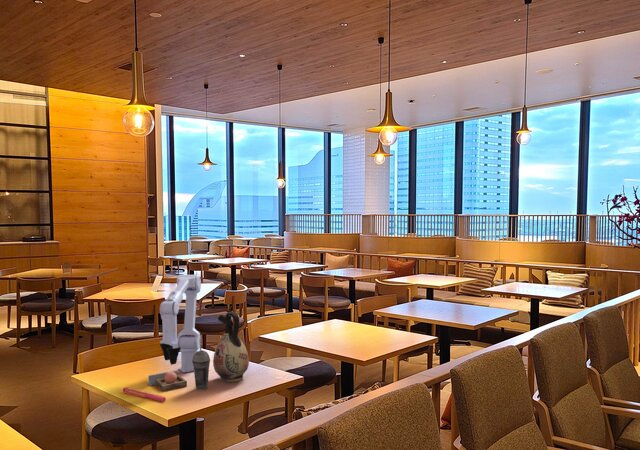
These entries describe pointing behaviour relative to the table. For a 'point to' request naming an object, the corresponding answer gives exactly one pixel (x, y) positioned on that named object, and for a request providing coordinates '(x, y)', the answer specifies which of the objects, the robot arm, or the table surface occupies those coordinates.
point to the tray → (177, 384)
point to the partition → (157, 377)
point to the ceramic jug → (230, 351)
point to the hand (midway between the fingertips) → (170, 361)
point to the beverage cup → (201, 369)
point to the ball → (170, 377)
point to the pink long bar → (144, 394)
